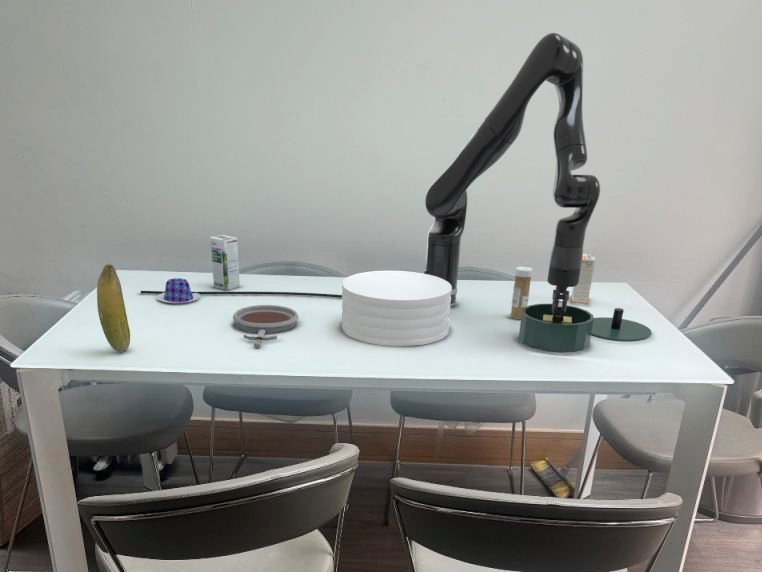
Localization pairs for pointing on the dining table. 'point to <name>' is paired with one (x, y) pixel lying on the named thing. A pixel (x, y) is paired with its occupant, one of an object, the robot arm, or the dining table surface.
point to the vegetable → (112, 309)
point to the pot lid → (619, 328)
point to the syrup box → (225, 262)
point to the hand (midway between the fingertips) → (555, 332)
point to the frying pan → (265, 321)
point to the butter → (566, 319)
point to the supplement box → (584, 280)
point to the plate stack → (396, 307)
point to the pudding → (178, 292)
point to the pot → (555, 329)
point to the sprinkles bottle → (520, 291)
